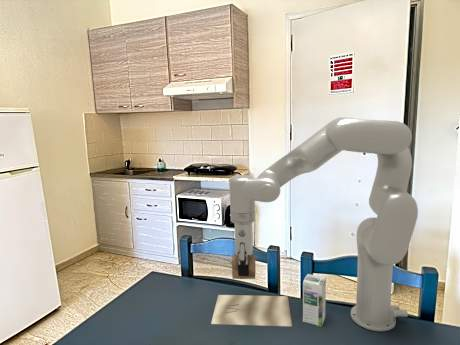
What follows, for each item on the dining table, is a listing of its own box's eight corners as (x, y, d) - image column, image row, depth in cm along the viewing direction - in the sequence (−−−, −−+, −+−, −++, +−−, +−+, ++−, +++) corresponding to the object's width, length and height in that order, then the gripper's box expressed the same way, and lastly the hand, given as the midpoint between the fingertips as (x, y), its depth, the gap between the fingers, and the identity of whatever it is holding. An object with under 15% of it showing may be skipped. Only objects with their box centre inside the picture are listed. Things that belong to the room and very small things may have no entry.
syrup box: (302, 326, 96) (302, 281, 94) (307, 315, 101) (307, 272, 99) (321, 331, 93) (322, 285, 91) (325, 320, 99) (326, 276, 96)
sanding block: (255, 271, 103) (255, 253, 102) (255, 279, 98) (254, 260, 97) (233, 271, 104) (233, 253, 103) (232, 278, 99) (231, 260, 98)
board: (287, 300, 110) (287, 296, 110) (291, 330, 94) (291, 326, 94) (218, 298, 112) (218, 294, 112) (211, 328, 97) (211, 323, 96)
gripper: (254, 225, 89) (255, 285, 92) (255, 207, 106) (256, 259, 109) (227, 225, 90) (229, 284, 93) (233, 207, 107) (234, 259, 110)
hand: (244, 270), depth 101 cm, fingers closed on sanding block, 5 cm apart
